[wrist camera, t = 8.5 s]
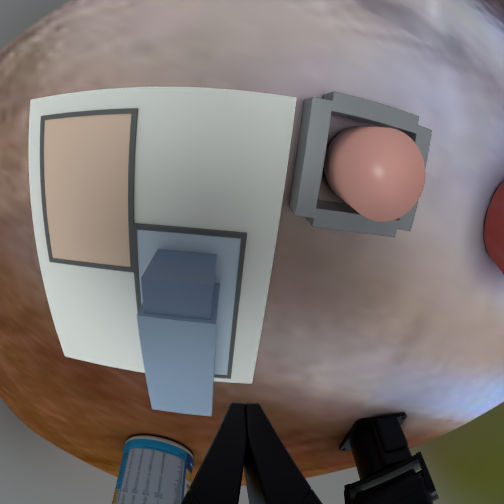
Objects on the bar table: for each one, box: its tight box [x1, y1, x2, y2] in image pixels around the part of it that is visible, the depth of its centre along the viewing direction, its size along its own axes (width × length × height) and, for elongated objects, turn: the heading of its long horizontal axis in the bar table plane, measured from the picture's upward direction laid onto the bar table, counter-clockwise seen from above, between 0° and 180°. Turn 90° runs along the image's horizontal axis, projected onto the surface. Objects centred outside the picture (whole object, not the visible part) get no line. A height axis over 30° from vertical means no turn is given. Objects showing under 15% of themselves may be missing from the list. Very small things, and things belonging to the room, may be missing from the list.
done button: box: [324, 126, 425, 222], centre depth 14 cm, size 4×4×3 cm
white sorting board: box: [29, 87, 297, 384], centre depth 17 cm, size 20×16×1 cm
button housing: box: [289, 92, 432, 237], centre depth 15 cm, size 7×7×2 cm
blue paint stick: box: [137, 249, 220, 416], centre depth 17 cm, size 10×4×4 cm, turn 173°
